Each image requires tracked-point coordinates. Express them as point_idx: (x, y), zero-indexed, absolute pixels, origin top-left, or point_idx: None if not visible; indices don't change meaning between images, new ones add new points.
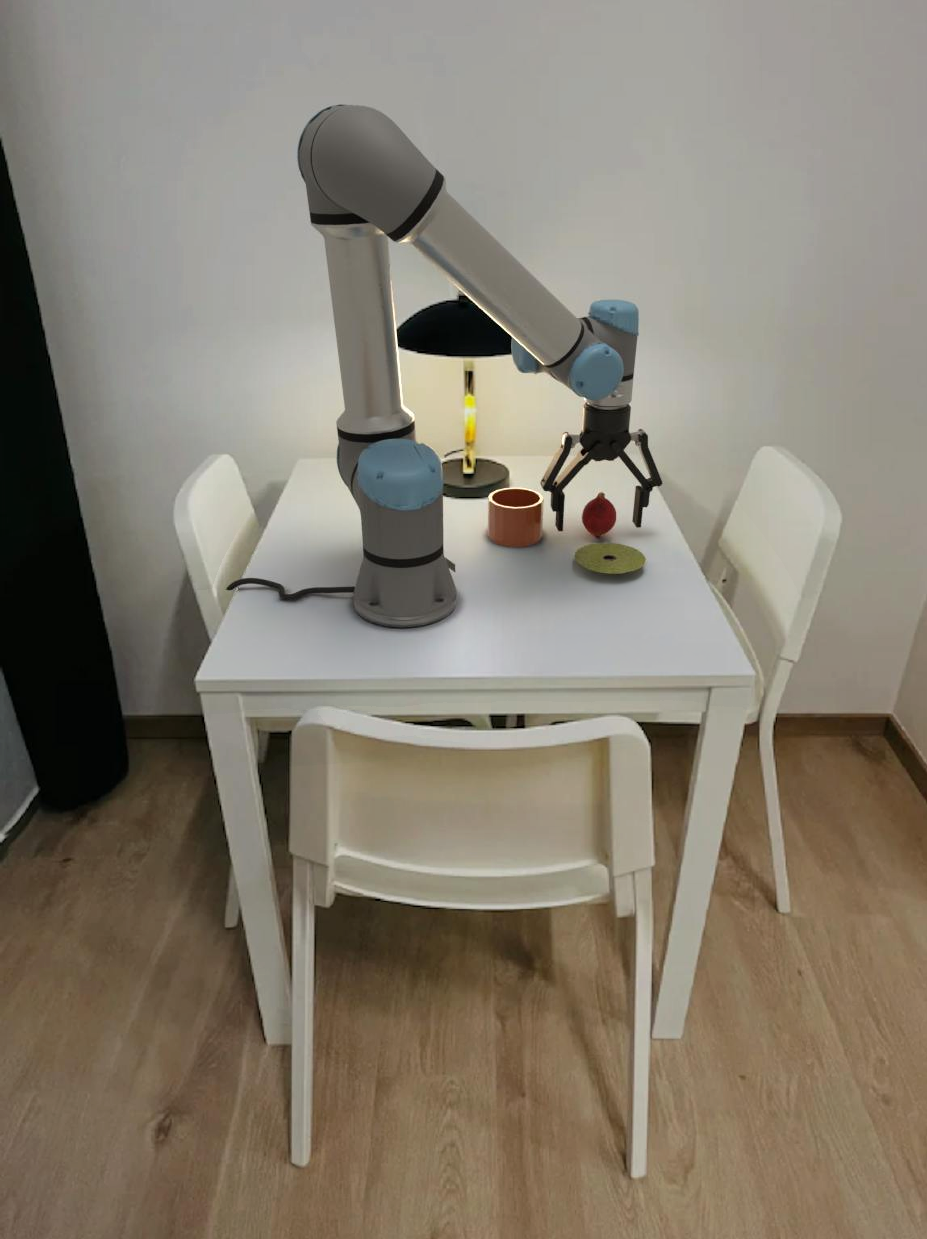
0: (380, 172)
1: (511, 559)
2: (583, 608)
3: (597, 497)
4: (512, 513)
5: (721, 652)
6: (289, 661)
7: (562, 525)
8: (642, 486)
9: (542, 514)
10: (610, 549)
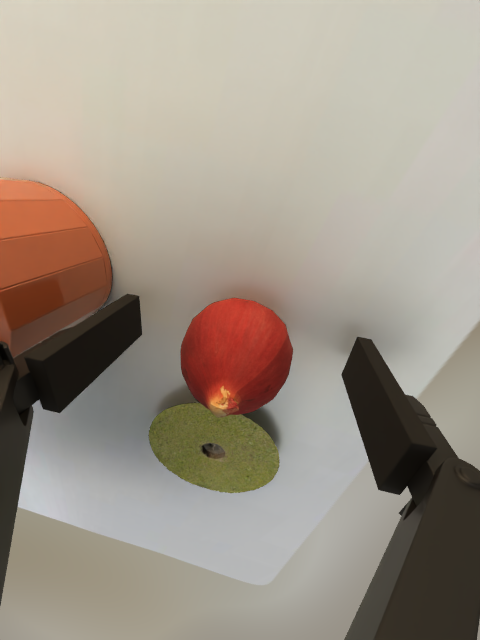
0: None
1: None
2: (151, 489)
3: (206, 403)
4: None
5: (263, 573)
6: None
7: (131, 342)
8: (419, 489)
9: (60, 314)
10: (225, 432)
